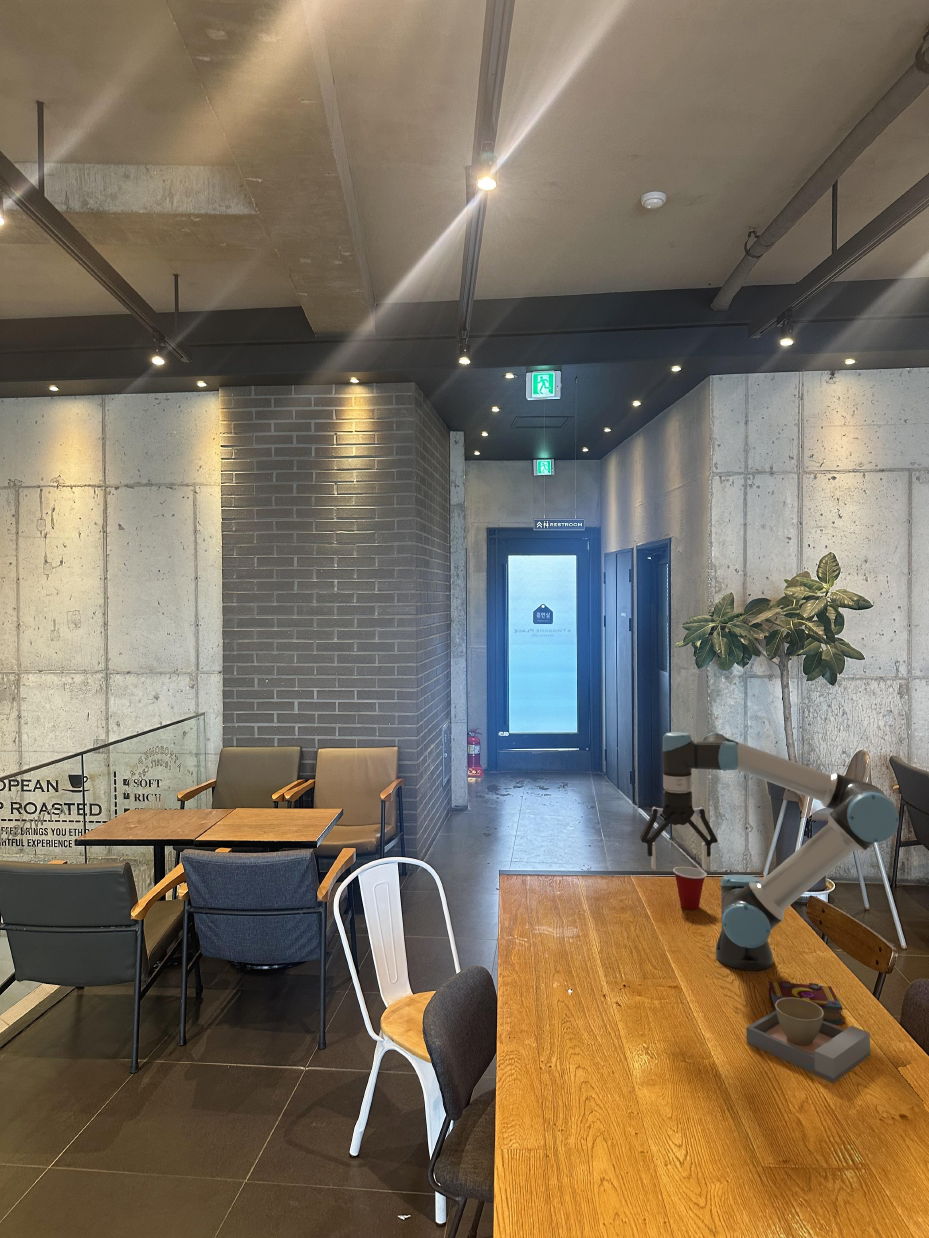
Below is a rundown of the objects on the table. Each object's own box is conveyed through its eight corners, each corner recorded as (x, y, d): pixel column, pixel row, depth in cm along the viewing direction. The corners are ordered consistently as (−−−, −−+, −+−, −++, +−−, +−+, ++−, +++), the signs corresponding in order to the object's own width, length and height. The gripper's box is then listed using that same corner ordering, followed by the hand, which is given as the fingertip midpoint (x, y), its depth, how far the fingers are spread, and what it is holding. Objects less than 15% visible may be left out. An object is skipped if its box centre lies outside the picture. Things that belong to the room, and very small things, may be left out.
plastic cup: (711, 912, 256) (711, 875, 256) (678, 912, 256) (677, 876, 256) (702, 900, 267) (701, 865, 267) (670, 900, 267) (669, 865, 267)
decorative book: (768, 997, 199) (767, 977, 199) (836, 1003, 196) (836, 983, 196) (775, 1020, 188) (774, 999, 188) (848, 1026, 184) (847, 1005, 184)
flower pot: (775, 1047, 174) (775, 1014, 174) (776, 1025, 183) (775, 994, 183) (825, 1055, 170) (824, 1022, 170) (823, 1032, 179) (822, 1001, 179)
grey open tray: (784, 1019, 188) (784, 998, 188) (870, 1055, 172) (869, 1032, 172) (746, 1042, 178) (746, 1020, 178) (833, 1082, 162) (833, 1058, 162)
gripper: (632, 793, 210) (634, 872, 210) (728, 793, 208) (729, 872, 208) (629, 786, 218) (630, 863, 218) (721, 786, 216) (722, 864, 216)
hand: (679, 868), depth 213 cm, fingers open, 13 cm apart
